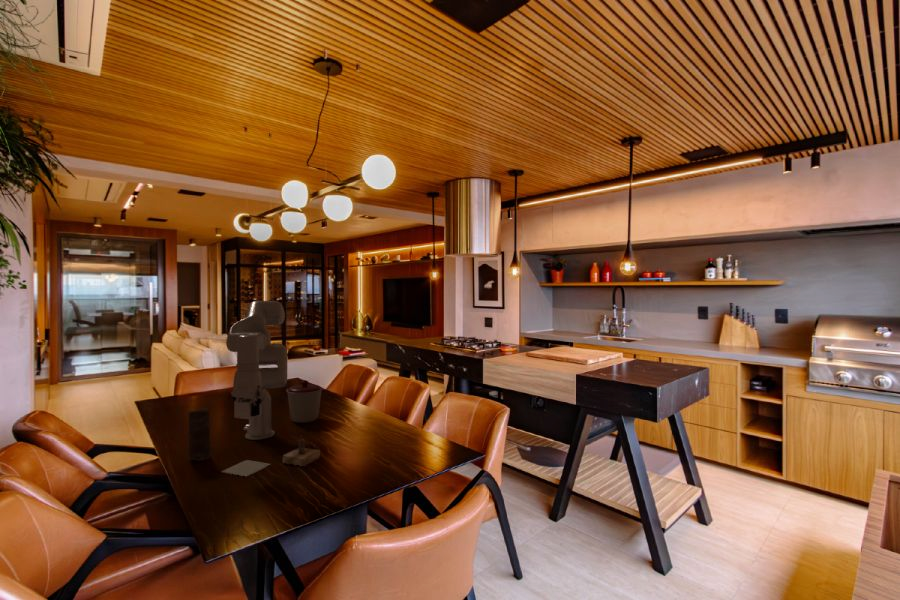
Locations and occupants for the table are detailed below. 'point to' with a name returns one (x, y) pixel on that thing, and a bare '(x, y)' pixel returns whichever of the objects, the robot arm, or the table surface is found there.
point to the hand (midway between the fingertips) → (248, 414)
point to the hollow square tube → (244, 409)
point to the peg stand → (301, 455)
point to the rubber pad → (246, 468)
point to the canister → (304, 402)
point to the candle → (199, 435)
